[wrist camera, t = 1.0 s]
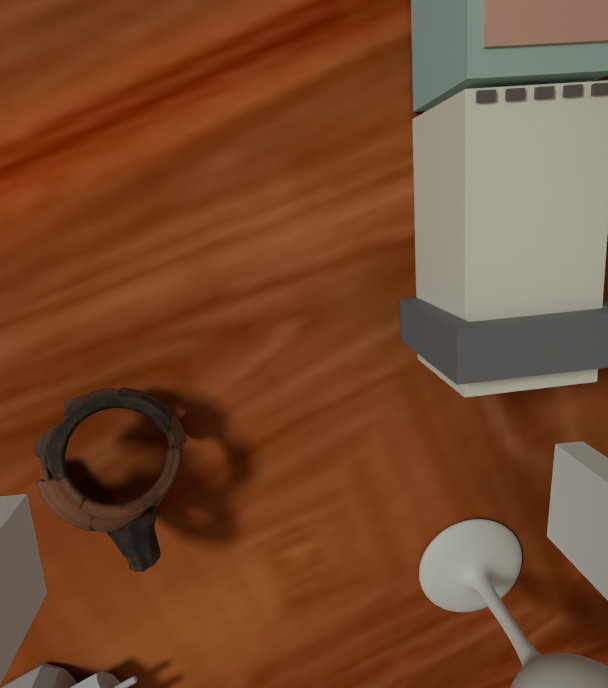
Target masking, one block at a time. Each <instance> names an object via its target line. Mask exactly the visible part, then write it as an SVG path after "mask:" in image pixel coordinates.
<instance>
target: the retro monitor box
mask: <svg viewBox="0 0 608 688" xmlns="http://www.w3.org/2000/svg"><path fill="white" fill-rule="evenodd" d="M411 27H412V74H413V112H420V111H428V110H429V109H431V108H433V107H435V106H436V105H438V104H440V103H442V102H443V101H445V100H447V99H449V98H450V97H452V96H454V95H456V94H457V93H459V92H461V91H463V90H464V89H473V88H490V87H506V86H523V85H540V84H556V83H573V82H590V81H595V80H597V79H600V78H602V77H605V76H608V0H411Z"/></svg>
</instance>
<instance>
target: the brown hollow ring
mask: <svg viewBox="0 0 608 688" xmlns="http://www.w3.org/2000/svg"><path fill="white" fill-rule="evenodd" d="M109 408H127V409H131V410H134V411H137V412H140V413H142V414H144V415H146V416H147V417H148V418H149V419H151V420H152V421H153V422H154V423H155V424H156V425H157V426H158V428H159V429H160V430H161V431H162V432H163V433H166V436H167V439H168V444H169V449H168V450H167V452H166V462H165V466H164V469H163V472H162V474H161V476H160V478H159V479H158V481H157V482H156V483H155V485H154V486H153V487H152V488H151V489H150V490H149V491H148V492H146V493H145V494H143V495H142V496H141V497H139V498H138V499H135V500H133V501H129V502H126V503H121V504H113V502H112V501H108V502H98V501H95V500H92V499H90V498H88V497H87V496H85V495H84V494H83V493H81V492H80V491H79V490H78V488H77V487H76V486H75V485H74V484H73V482H72V480H71V478H70V476H69V475H68V474H67V470H66V464H65V452H66V447H67V444H68V441H69V439H70V437H71V435H72V433H73V431H74V430H75V428H76V427H77V425H78V424H80V423H81V422H82V421H83V420H84V419H86V418H87V417H88V416H90V415H92V414H94V413H96V412H98V411H101V410H105V409H109ZM186 440H187V439H186V435H185V431H184V429H183V426H182V424H181V422H180V420H179V418H178V416H177V415H176V414H174V411H173V409H172V408H171V407H170V406H168V405H167V404H166V403H164V402H162V401H161V400H159V399H157V398H155V397H154V396H151V395H149V394H147V393H144V392H142V391H138V390H134V389H130V388H121V389H120V390H119V391H118V390H115V389H113V388H106V389H101V390H98V391H95V392H92V393H89V394H86V395H83V396H79V397H76V398H71V399H68V400H66V401H64V422H63V423H62V424H59V425H54V426H53V427H50V428H49V429H48V430H47V431H46V432H45V434H44V435H43V436H41V437H39V438H38V439H37V442H36V446H35V455H36V456H38V457H40V460H41V462H42V463H41V464H40V470H41V477H42V479H43V480H38V481H37V485H38V486H37V489H38V492H39V494H40V497H41V498H42V500H43V502H44V503H45V504H46V506H47V507H48V508H49V509H50V510H51V511H52V512H53V513H54V514H55V515H56V516H58V517H59V518H60V519H62V520H64V521H65V522H67V523H69V524H72V525H74V526H75V527H77V528H80V529H83V530H87V531H95V530H96V531H98V532H103V533H107V534H108V535H109V536H110V537H111V538H112V540H113V541H114V542H115V544H116V545H117V547H118V548H119V550H120V552H121V553H122V555H123V556H124V557H125V558H126V559H127V561H128V564H129V569H130V570H133V571H135V572H143V571H145V570H146V569H148V568H149V567H152V566H153V565H154V564H155V563H156V562H157V560H158V559H159V558H160V548H159V545H158V541H157V537H156V533H155V528H154V524H155V520H156V517H157V516H158V514H159V510H158V509H155V508H154V506H156V507H157V506H158V505H159V504H160V503H161V502H162V500H163V499H164V498H165V496H166V495H167V493H168V491H169V490H170V488H171V487H172V485H173V483H174V480H175V478H176V476H177V473H178V470H179V467H180V465H181V459H182V442H186Z"/></svg>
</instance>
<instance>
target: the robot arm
mask: <svg viewBox="0 0 608 688" xmlns="http://www.w3.org/2000/svg"><path fill="white" fill-rule="evenodd" d="M547 537H548V538H549V539H550V540H551V541H552V542H553V543H554V544H555V545H556V546H557V547H558V549H559V550H560V551H561V552H562V553H563V554H564V555H565V556H566V557H567V558H568V559H569V560H570V561H571V562H572V563H573V564H574V565H575V567H576V568H577V569H578V570H579V571H580V572H581V573H582V574H583V575H584V576H585V577H586V578H587V579H588V580H589V581H590V582H591V583H592V585H593V586H594V587H595V588H596V589H597V590H598V591H599V592H600V593H601V594H602V595H603V596H604V597H605V598H606V599H607V600H608V458H607V457H605V456H604V455H602V454H601V453H599V452H598V451H596V450H595V449H593V448H592V447H590V446H589V445H588V444H586V443H585V442H583V441H582V442H571V443H561V444H555V453H554V464H553V475H552V486H551V497H550V508H549V519H548V529H547ZM46 594H47V591H46V586H45V581H44V576H43V571H42V566H41V561H40V556H39V551H38V546H37V541H36V536H35V531H34V526H33V521H32V516H31V511H30V506H29V501H28V496H27V494H22V495H12V496H1V497H0V683H1V682H2V680H3V678H4V676H5V674H6V672H7V670H8V668H9V666H10V664H11V662H12V660H13V658H14V656H15V654H16V652H17V651H18V649H19V647H20V645H21V643H22V641H23V639H24V637H25V635H26V633H27V631H28V629H29V627H30V625H31V623H32V621H33V620H34V618H35V616H36V614H37V612H38V610H39V608H40V606H41V604H42V602H43V600H44V598H45V596H46Z"/></svg>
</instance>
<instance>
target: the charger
mask: <svg viewBox="0 0 608 688" xmlns="http://www.w3.org/2000/svg"><path fill="white" fill-rule="evenodd" d="M137 680H138V679H137V677H136V676H133V677H131V678H129V679H127V680H125V681H124V682H122V683H120V682H119V681H118V679H117V678H116V677H115V676H114V675H112V674H109V673H106V672H103V671H101V672H98V673H96V674H94V675H92V676H90V677H89V678H87V679H85V680H83V681H81V682H80V683H77V681H76V680H75V679H74V678H73V677H72V676H71V675H70V674H69V673H68V671H66V670H65V669H64V668H61V667H57V666H53V665H50V664H43V665H41V666H39V667H37V668H35V669H34V670H32V671H30V672H28V673H26V674H24V675H23V676H21V677H19V678H17V679H15V680H14V681H12V682H10V683H8V684H6V685H5V686H3V687H1V688H127V687H129V686H131V685H133V684H135V683H136V682H137Z"/></svg>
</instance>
